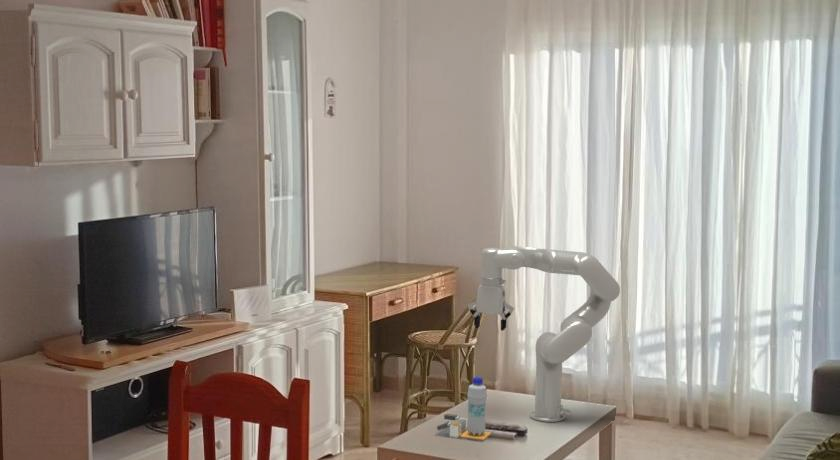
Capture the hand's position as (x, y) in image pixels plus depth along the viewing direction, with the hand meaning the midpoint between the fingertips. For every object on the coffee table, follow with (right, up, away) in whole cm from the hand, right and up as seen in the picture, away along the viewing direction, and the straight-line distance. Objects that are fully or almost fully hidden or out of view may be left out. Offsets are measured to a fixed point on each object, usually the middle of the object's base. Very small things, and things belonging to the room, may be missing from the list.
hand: (490, 328), depth 374 cm
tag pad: (-6, -34, -21) cm, 41 cm away
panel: (-10, -35, -20) cm, 42 cm away
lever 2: (-14, -30, -14) cm, 36 cm away
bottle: (-6, -34, -21) cm, 41 cm away
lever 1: (-17, -32, -22) cm, 42 cm away
